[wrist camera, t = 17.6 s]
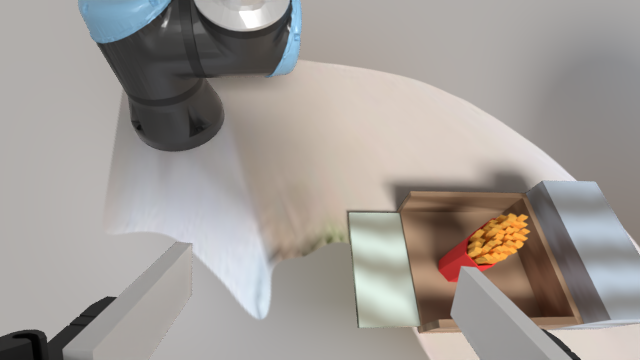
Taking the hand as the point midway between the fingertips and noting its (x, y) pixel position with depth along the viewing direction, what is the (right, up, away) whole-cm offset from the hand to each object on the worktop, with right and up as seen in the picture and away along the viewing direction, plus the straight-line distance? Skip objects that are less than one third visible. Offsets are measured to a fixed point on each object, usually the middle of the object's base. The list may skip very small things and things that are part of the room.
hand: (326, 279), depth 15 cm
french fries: (+19, -7, +29) cm, 35 cm away
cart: (+21, -8, +30) cm, 37 cm away
